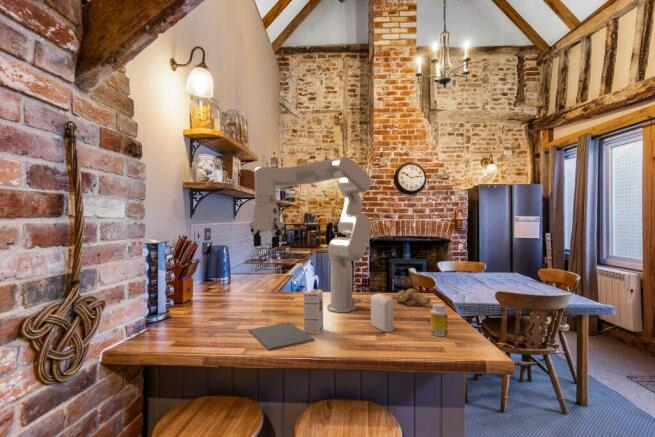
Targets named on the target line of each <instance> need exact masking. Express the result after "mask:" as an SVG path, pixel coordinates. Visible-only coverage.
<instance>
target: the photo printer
mask: <svg viewBox="0 0 655 437" xmlns="http://www.w3.org/2000/svg"><path fill="white" fill-rule="evenodd" d="M394 323H395V322H394V302H393V300H392V299H391V298H390V297H389V296H387V295H386V294H383V293H375V294H373V295H372V296H371V297H370V324H371V326H373V327H374V328H376V329H379V330H380V331H382V332H386V333H392V332H393V331H394V330H395V329H394V326H395V324H394Z"/></svg>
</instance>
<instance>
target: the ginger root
mask: <svg viewBox="0 0 655 437" xmlns="http://www.w3.org/2000/svg"><path fill="white" fill-rule="evenodd" d="M391 298H392V299H393V300H396V303H398V304H401V303H403V304H405V305H406V306H407V307H409V306H410V307H411V306H414V305H415V306H421V307H422V306H426V305H429V304H430V303H431V302H432V299H431V297H430V296H428V295H427V296H425V295H423V294H421V293H419V292H417V291H416V290H415V289H414V287H413V288H412V287H411V288H408V289H407V290H404V289H401V290H399V291H398V292H397V293H396V294H393V295H391Z"/></svg>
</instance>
